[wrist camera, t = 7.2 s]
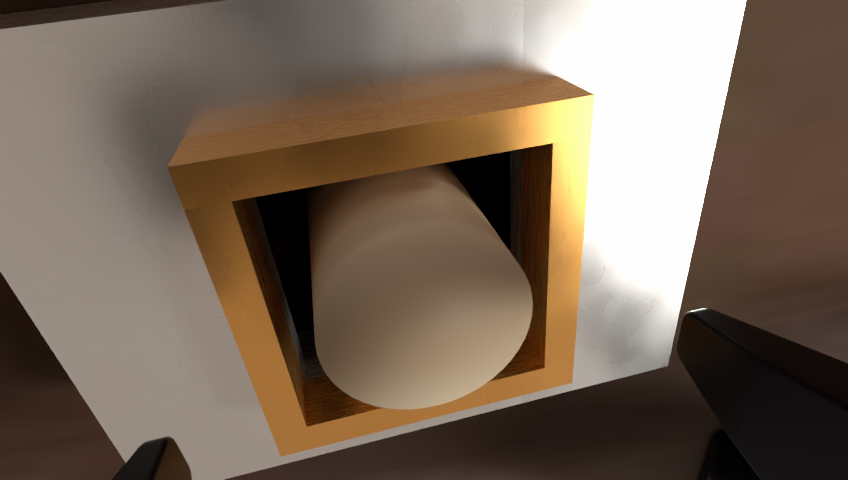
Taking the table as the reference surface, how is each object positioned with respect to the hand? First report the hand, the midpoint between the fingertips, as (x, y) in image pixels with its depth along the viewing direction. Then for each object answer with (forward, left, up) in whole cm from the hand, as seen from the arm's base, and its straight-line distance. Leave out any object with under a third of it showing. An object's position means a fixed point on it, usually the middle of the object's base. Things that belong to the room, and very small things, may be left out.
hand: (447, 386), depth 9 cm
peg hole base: (0, 0, -8) cm, 8 cm away
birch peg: (0, 0, -8) cm, 8 cm away
